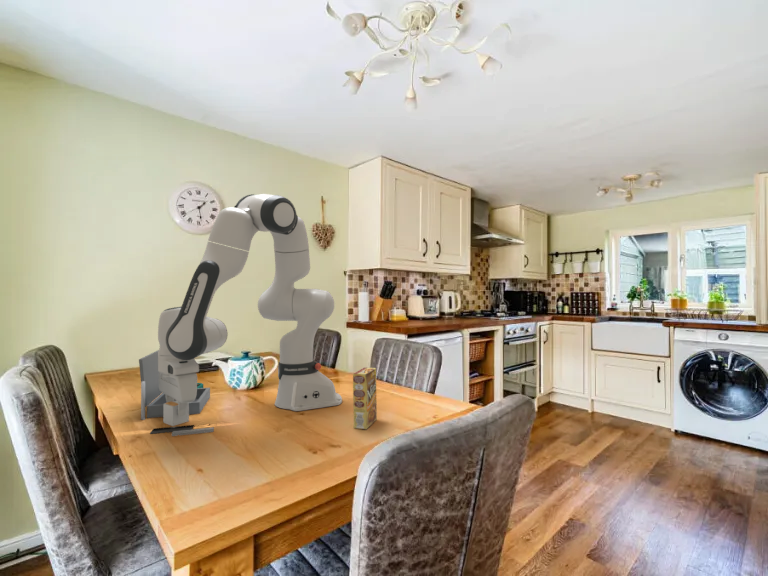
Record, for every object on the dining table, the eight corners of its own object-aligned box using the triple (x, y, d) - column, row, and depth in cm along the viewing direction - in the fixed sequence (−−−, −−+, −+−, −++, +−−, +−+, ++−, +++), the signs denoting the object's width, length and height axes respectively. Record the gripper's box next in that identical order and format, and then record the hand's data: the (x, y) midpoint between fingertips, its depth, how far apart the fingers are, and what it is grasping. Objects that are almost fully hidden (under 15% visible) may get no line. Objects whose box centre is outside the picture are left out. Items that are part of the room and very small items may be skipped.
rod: (213, 431, 101) (213, 427, 101) (213, 433, 100) (213, 428, 100) (172, 435, 98) (173, 431, 98) (171, 437, 97) (171, 432, 97)
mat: (198, 418, 111) (198, 416, 111) (191, 430, 101) (191, 428, 101) (161, 421, 108) (161, 420, 108) (150, 434, 98) (150, 432, 98)
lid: (160, 349, 125) (156, 350, 125) (141, 359, 108) (137, 359, 107) (164, 390, 125) (160, 391, 125) (146, 406, 108) (141, 407, 108)
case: (210, 400, 129) (210, 366, 129) (198, 418, 110) (198, 378, 110) (161, 404, 125) (161, 368, 125) (140, 423, 106) (140, 382, 106)
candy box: (366, 430, 101) (366, 374, 101) (352, 428, 102) (352, 373, 102) (377, 419, 109) (377, 367, 109) (363, 418, 110) (363, 366, 111)
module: (188, 423, 105) (188, 401, 105) (172, 428, 101) (172, 405, 101) (179, 420, 108) (179, 399, 108) (163, 424, 104) (163, 402, 104)
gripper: (152, 360, 110) (152, 407, 109) (176, 370, 96) (176, 423, 96) (175, 357, 114) (175, 402, 114) (201, 366, 100) (201, 417, 100)
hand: (176, 412), depth 105 cm, fingers open, 7 cm apart
